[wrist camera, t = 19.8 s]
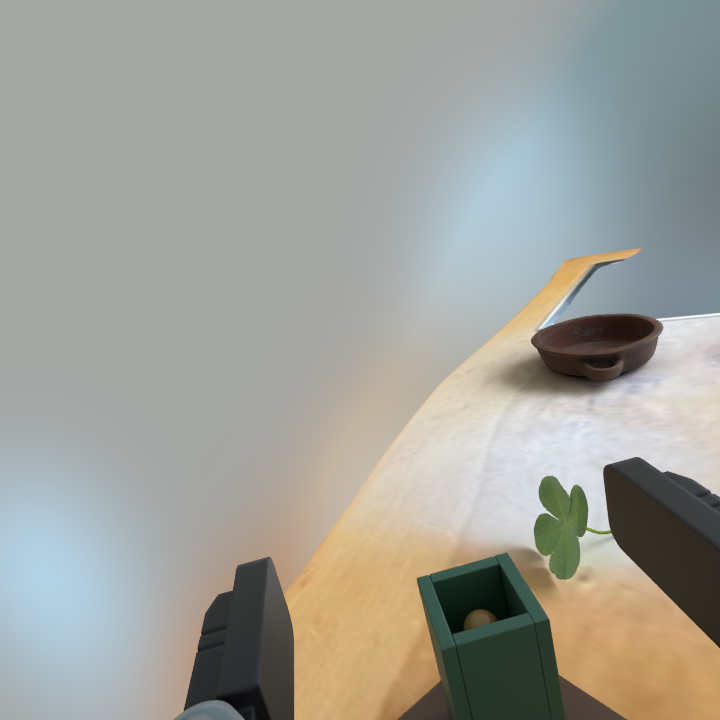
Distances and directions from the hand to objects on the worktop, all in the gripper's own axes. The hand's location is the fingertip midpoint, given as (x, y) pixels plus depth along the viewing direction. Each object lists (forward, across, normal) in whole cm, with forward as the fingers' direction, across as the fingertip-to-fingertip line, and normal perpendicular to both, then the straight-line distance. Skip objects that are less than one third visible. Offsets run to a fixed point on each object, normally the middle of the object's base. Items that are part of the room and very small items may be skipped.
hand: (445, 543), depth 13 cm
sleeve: (+11, -2, +20) cm, 23 cm away
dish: (+61, -36, +22) cm, 75 cm away
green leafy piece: (+24, -14, +22) cm, 35 cm away
